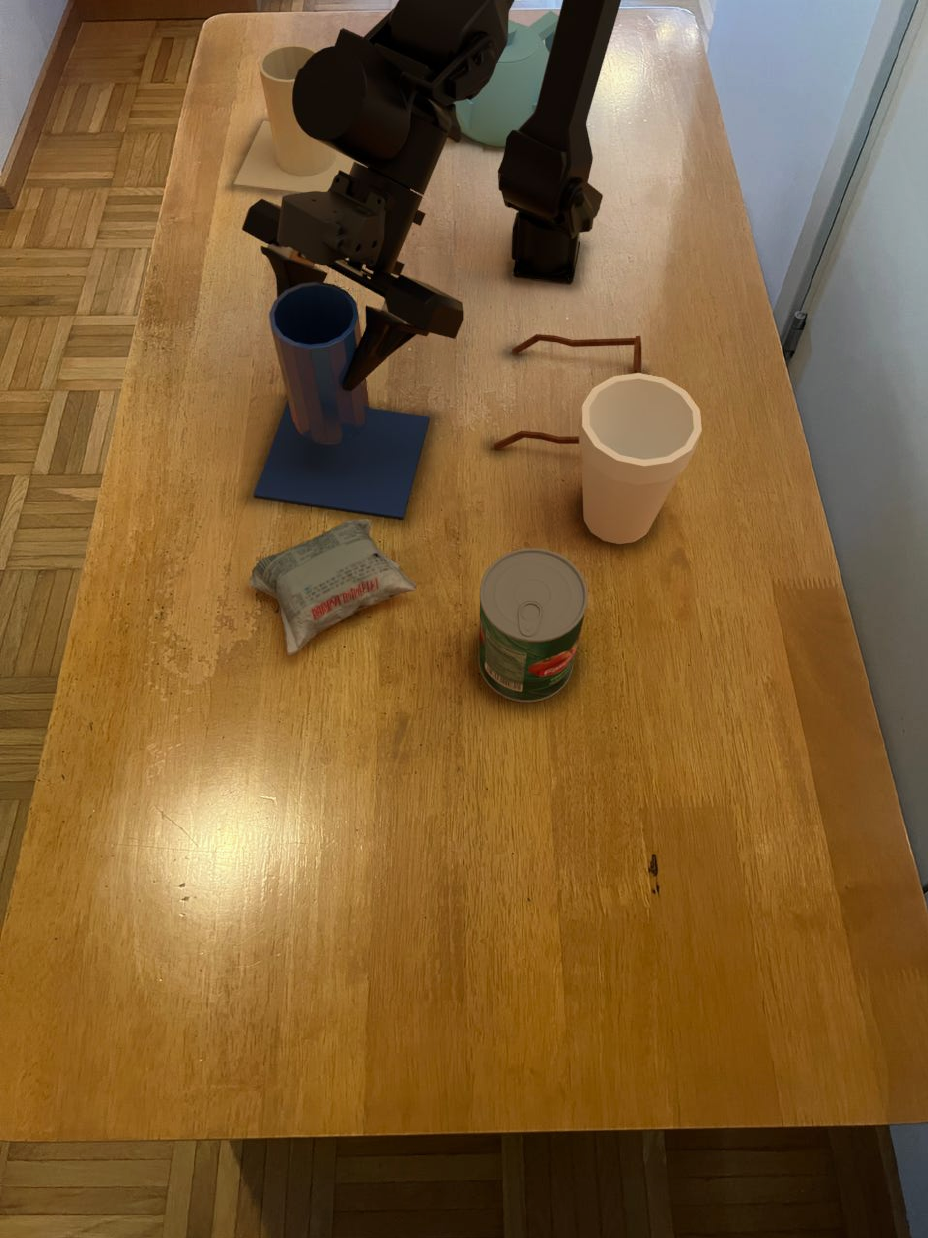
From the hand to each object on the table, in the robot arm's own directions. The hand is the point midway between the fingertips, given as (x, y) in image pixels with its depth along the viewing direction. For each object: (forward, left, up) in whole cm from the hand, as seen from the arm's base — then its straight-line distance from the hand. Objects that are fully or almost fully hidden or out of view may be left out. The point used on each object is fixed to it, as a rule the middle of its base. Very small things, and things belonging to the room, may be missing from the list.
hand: (313, 369), depth 76 cm
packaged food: (-4, +14, -13) cm, 19 cm away
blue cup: (0, -1, -7) cm, 7 cm away
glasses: (-21, -11, -13) cm, 27 cm away
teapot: (-7, -55, -13) cm, 57 cm away
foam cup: (-27, +1, -13) cm, 30 cm away
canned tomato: (-21, +17, -13) cm, 30 cm away
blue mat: (-1, -1, -12) cm, 13 cm away
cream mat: (+14, -43, -12) cm, 47 cm away
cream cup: (+14, -43, -12) cm, 47 cm away
